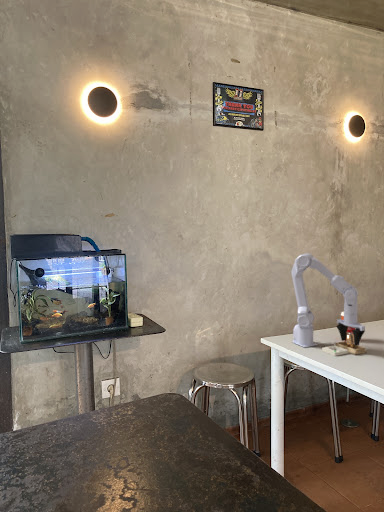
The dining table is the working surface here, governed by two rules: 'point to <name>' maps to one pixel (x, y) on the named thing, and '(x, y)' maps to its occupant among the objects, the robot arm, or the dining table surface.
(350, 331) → the paper cup
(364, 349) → the wooden trough
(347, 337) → the battery cell
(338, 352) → the white square frame
